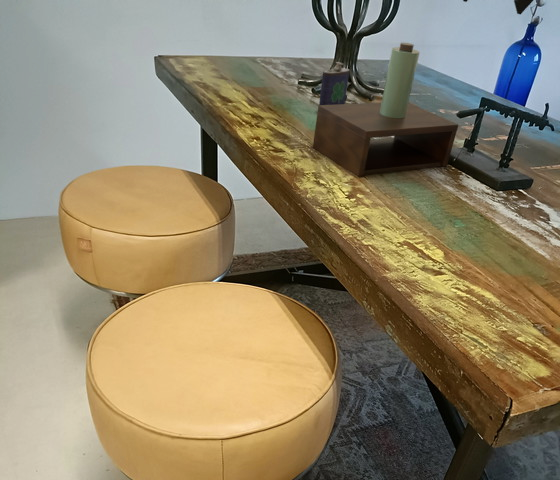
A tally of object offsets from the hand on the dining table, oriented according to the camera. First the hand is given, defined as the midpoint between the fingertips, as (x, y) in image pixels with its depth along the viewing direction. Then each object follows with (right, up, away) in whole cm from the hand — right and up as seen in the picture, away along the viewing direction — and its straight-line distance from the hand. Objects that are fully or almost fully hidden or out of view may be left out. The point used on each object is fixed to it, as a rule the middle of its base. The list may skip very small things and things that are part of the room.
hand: (488, 1), depth 104 cm
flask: (-26, -5, +33) cm, 42 cm away
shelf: (-18, -25, +10) cm, 32 cm away
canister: (-17, -18, +5) cm, 25 cm away
